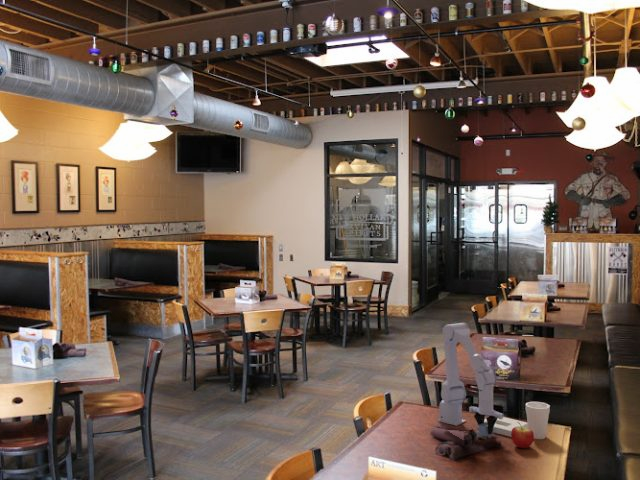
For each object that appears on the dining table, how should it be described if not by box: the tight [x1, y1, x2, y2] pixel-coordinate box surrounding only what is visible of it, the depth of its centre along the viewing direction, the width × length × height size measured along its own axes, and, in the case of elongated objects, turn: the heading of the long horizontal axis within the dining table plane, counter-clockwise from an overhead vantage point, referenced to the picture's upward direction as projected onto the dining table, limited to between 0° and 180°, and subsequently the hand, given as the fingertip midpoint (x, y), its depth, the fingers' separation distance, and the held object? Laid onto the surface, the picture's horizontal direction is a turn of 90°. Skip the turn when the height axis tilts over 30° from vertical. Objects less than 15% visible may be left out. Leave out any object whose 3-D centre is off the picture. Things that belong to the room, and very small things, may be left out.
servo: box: [475, 421, 496, 439], centre depth 260 cm, size 12×3×6 cm, turn 135°
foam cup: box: [525, 401, 551, 440], centre depth 260 cm, size 10×9×13 cm
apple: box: [510, 422, 535, 449], centre depth 248 cm, size 8×8×10 cm
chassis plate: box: [477, 416, 528, 438], centre depth 270 cm, size 16×14×2 cm
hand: (485, 432), depth 260 cm, fingers open, 3 cm apart
